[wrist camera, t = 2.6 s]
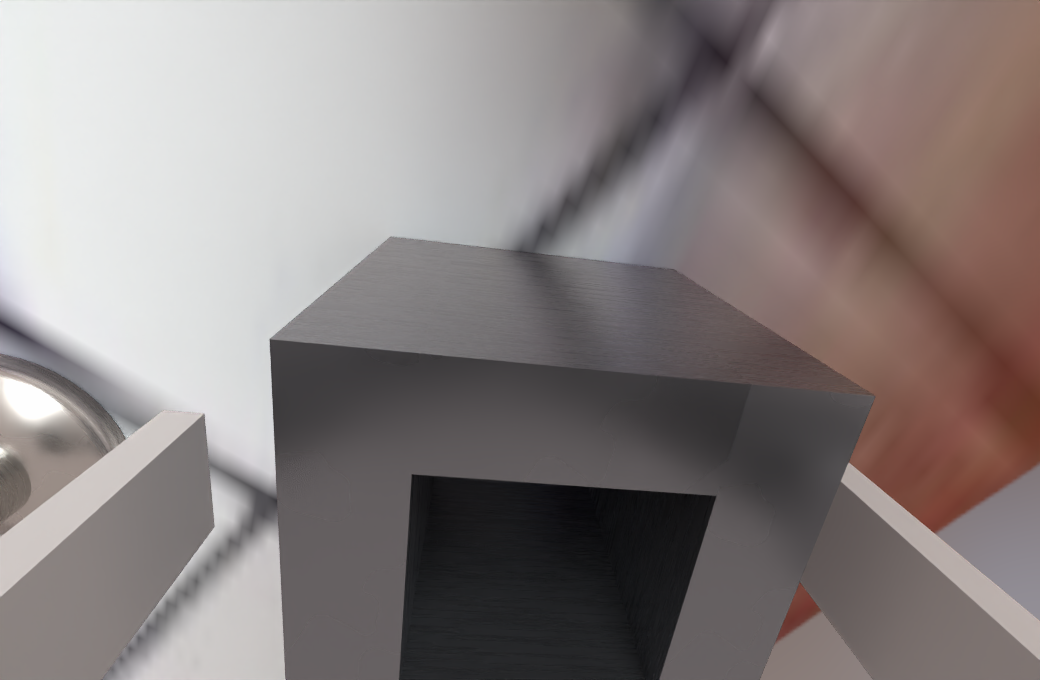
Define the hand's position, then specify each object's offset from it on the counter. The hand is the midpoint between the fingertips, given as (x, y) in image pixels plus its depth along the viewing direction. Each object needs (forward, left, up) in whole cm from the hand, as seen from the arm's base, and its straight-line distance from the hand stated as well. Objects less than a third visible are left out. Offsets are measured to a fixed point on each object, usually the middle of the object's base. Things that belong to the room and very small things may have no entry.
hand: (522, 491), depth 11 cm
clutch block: (0, 0, -5) cm, 5 cm away
